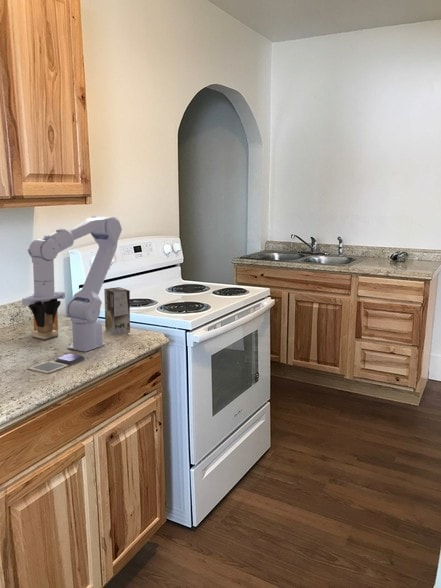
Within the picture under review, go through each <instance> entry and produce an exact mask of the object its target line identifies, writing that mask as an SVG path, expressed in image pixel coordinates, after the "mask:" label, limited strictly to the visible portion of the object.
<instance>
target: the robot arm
mask: <svg viewBox="0 0 441 588" xmlns="http://www.w3.org/2000/svg"><path fill="white" fill-rule="evenodd" d="M122 231H123V229H122V225H121V222H120V220H119V218H117V217H116V216H99V215H98V216H97V215H93V216H91V217H87V218H86V219H85V220H84V221H83V222H81V223H79V224H77V225H76V226H74V227H71V228H70V229H69V230H68V229H65V228H57V229H56V230H55V232H53V233H51V234H50V235H49V234H47V235H44V236H43V238H42V239H37V238H36V239H34V240H33V241H32V242H31V243H30V245H29V247H28V249H27V252H28V256H30V258H31V264H32V266H33V267H32V269H33V270H32V271H33V294H32V295H29V296H26V297H22V301H21V302H22V306H28V308H29V309H30V311H31V312H32V314H33V318H34V317H35V320H36V323H37V326H38V327H44V322H45V314H50V315H52V320H53V323H54V318H55V315H56V312H57V309H59V307H60V306H61V304H62V303H61V299H62V300H63V299H65V298H66V292H64V291H56V292H55V268H54V267H55V263H54V261H55V259H56V258H57V256H58V254H59V253H61V252H63V251H65V250H66V249H68V248H71V247H72V246H73V245H74V243H75V242H74V241H76V240H78V239H81V238H82V237H85V236H87V235H89V234H90V235H91V236H92V238H93V239H94V241H95V243H96V244H97V245H98V249H97V251H96V254H95V257H94V259H93V262H92V264H91V266H90V269H89V271H88V274H87V276H86V279H85V281H84V282H83V283H84V284H83V285H82V289H81V290H79V291H77V292H76V293H74V294H73V297H72V298H71V300H70V301H68V303H67V304H66V314H67V316H69V318H70V321H71V322H72V323H71V325H72V326H71V327H72V328H71V329H72V330H71V331H72V344H71V345H68V346H67V347H66V348H67V349H70V350H74V351H79V352H88V351H92V350H94V349H97V348H100V347H103V346H105V343H104V342H103V326H102V323H101V321H100V319H99V317H100V315H101V307H102V303H103V301H102V300H101V299H100V297H99V293H100V292H101V289H102V287H103V284H104V281H105V279H106V276H107V274H108V271H109V269H110V267H111V265H112V262H113V259H114V256H115V254H116V251H117V249H118V242H119V238H120V237H121V233H122ZM42 302H43V303H42Z"/></svg>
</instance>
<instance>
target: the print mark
mask: <svg viewBox="0 0 441 588" xmlns="http://www.w3.org/2000/svg"><path fill="white" fill-rule="evenodd" d="M69 366H70V365H67V364H63V363H58V362H55V361H52V360H47V361H44V362H40V363H39V364H38V363H37V364H35V365H32V366H29V367H27V370H29V371H34V372H38V373H42V374H46V375H49V374H52V373H54V372H58V371H60V370H63V369H65V368H67V367H69Z"/></svg>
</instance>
